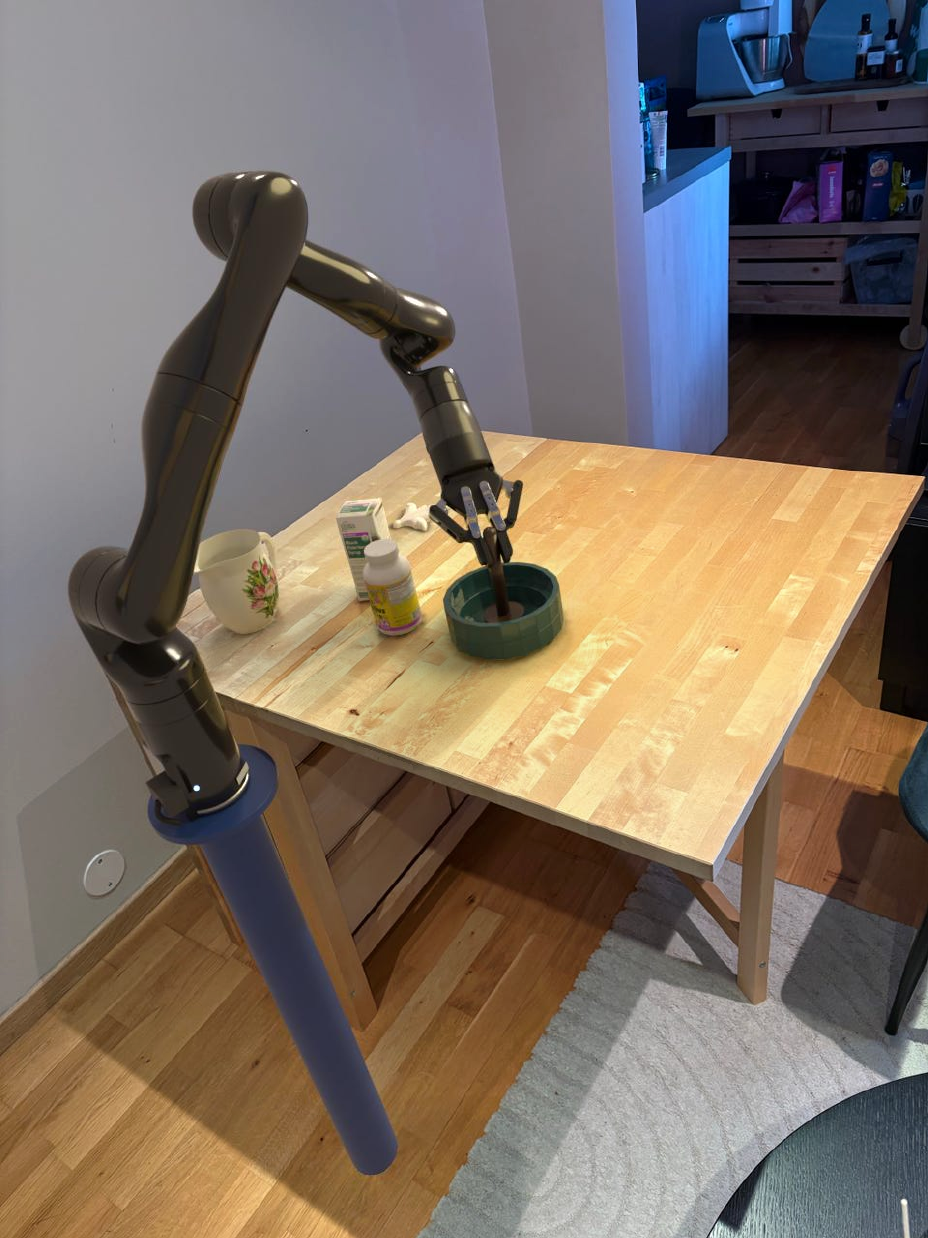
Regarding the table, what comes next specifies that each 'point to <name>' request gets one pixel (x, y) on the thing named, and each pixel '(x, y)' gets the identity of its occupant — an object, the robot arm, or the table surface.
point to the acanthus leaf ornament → (414, 517)
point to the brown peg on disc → (499, 586)
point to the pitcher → (239, 579)
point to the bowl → (508, 637)
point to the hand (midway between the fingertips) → (498, 563)
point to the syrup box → (361, 535)
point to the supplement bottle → (391, 588)
